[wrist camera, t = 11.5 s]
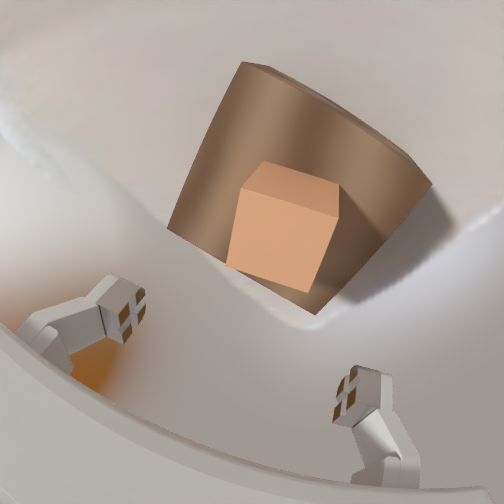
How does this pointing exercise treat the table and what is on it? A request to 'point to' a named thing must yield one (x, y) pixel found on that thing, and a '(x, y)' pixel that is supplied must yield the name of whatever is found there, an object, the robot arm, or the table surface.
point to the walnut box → (303, 160)
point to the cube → (283, 225)
